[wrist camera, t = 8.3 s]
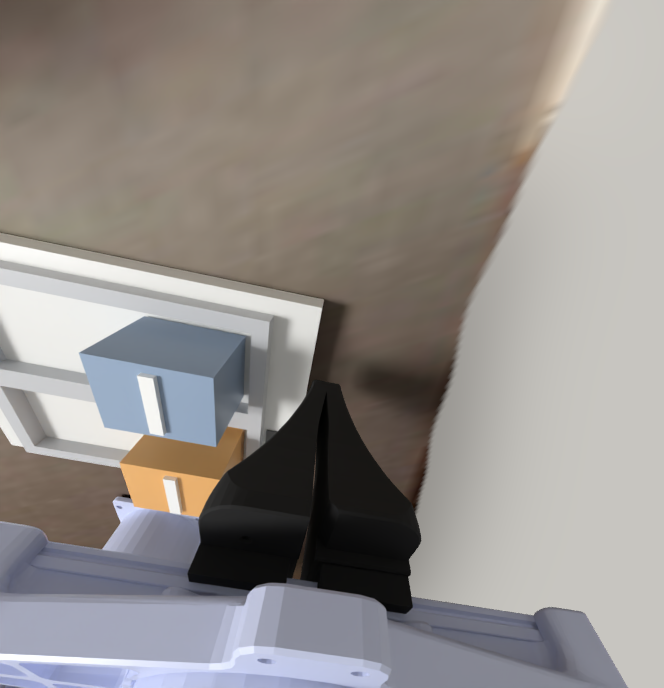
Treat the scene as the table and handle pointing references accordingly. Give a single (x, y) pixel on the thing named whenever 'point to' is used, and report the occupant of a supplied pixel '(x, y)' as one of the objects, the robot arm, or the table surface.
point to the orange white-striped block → (179, 471)
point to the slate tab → (167, 379)
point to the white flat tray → (116, 313)
